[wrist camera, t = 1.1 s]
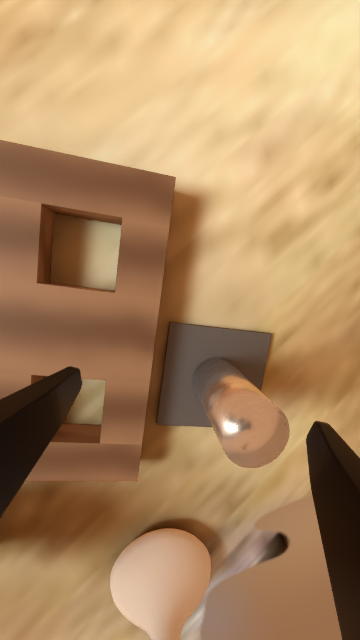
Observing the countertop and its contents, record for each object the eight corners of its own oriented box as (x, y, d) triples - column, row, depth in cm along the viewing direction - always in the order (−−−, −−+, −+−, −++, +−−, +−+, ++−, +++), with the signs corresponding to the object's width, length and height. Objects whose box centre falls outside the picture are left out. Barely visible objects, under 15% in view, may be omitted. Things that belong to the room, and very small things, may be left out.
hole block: (137, 459, 28) (137, 481, 25) (-4, 457, 25) (-23, 480, 22) (171, 189, 24) (175, 177, 21) (8, 156, 21) (-13, 137, 18)
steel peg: (232, 401, 28) (282, 468, 18) (189, 398, 27) (217, 467, 17) (239, 359, 27) (295, 404, 17) (195, 355, 26) (228, 400, 16)
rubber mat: (251, 426, 29) (253, 428, 29) (156, 422, 27) (156, 424, 27) (269, 333, 28) (271, 334, 27) (169, 321, 26) (170, 322, 25)
